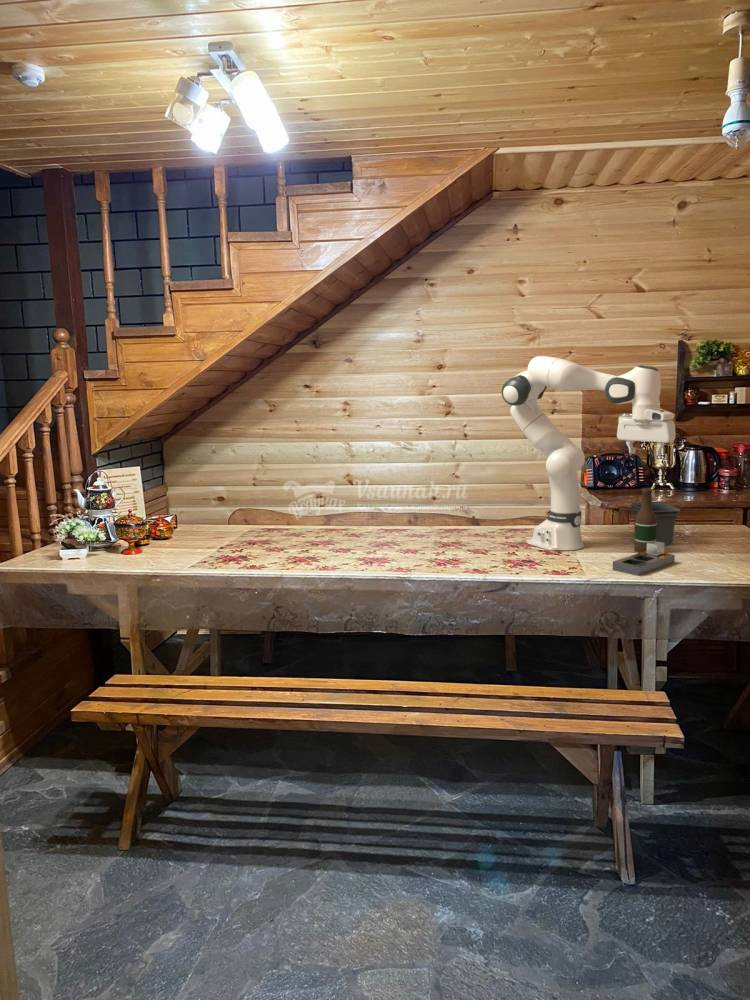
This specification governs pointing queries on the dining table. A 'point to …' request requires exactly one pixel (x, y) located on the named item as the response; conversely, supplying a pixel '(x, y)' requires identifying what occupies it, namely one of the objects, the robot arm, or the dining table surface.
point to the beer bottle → (645, 523)
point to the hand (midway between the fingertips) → (644, 454)
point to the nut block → (655, 549)
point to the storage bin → (661, 520)
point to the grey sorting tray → (642, 563)
